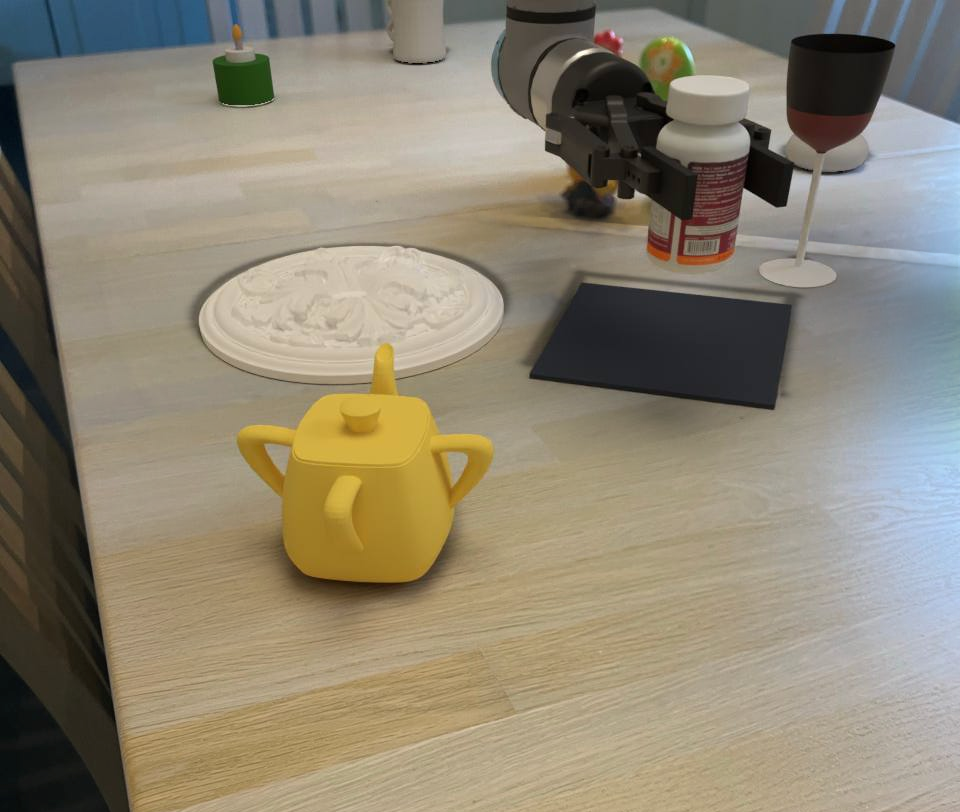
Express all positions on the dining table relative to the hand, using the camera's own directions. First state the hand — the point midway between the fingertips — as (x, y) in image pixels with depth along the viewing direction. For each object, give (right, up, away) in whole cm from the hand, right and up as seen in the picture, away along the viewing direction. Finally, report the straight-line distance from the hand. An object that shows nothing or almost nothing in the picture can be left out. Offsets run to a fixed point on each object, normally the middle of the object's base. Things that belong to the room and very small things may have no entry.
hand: (737, 191), depth 65 cm
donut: (+27, +31, +62) cm, 75 cm away
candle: (-52, +53, +89) cm, 115 cm away
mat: (0, -2, +25) cm, 25 cm away
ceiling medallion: (-28, +2, +30) cm, 41 cm away
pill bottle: (-2, -2, +8) cm, 8 cm away
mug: (-28, +71, +109) cm, 133 cm away
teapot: (-23, -22, +3) cm, 32 cm away
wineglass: (+15, +8, +36) cm, 40 cm away
